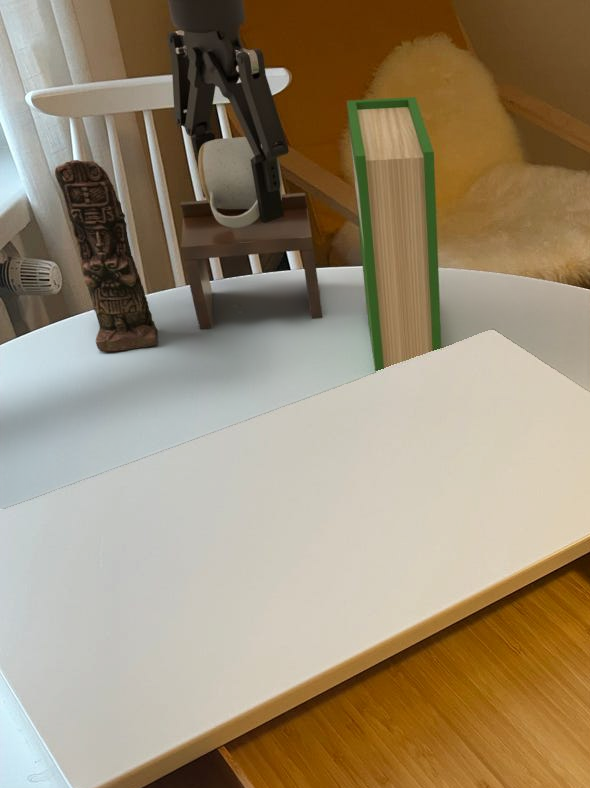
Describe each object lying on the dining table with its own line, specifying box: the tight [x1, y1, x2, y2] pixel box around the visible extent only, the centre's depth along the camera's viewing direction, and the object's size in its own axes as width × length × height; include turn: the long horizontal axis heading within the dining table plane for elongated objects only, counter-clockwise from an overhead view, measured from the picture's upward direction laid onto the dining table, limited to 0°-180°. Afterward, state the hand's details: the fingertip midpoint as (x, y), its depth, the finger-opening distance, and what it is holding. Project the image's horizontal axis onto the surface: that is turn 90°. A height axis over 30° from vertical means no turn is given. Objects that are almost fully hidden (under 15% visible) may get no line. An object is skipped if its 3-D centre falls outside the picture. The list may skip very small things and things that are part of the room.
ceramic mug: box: [197, 135, 283, 228], centre depth 107 cm, size 11×8×8 cm
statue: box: [54, 159, 159, 352], centre depth 106 cm, size 7×7×20 cm
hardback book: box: [346, 96, 442, 372], centre depth 103 cm, size 18×7×24 cm, turn 8°
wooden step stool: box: [180, 192, 323, 330], centre depth 115 cm, size 15×10×12 cm, turn 101°
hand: (242, 206), depth 110 cm, fingers closed on ceramic mug, 10 cm apart
